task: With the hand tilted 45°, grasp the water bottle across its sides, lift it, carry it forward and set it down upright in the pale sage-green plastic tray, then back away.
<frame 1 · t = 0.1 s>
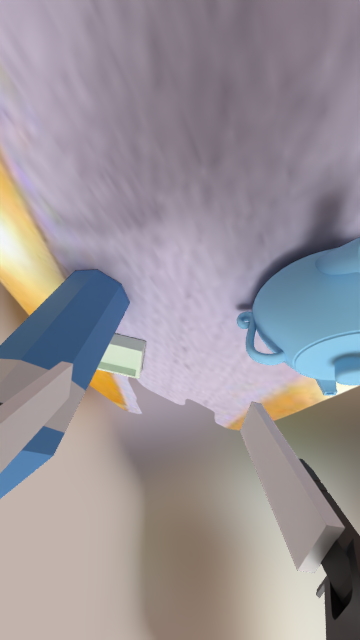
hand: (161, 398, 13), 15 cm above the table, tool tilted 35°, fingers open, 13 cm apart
tray: (113, 350, 40), on the table
teapot: (312, 292, 22), on the table
water bottle: (101, 293, 27), on the table
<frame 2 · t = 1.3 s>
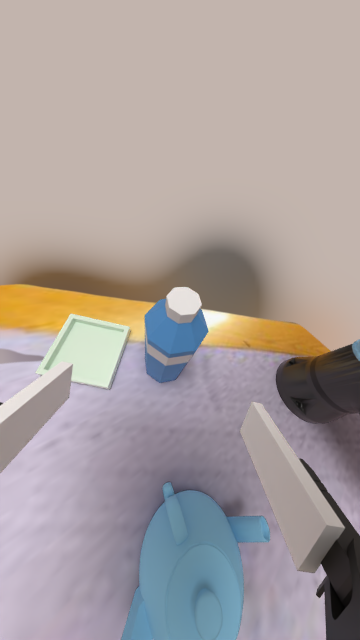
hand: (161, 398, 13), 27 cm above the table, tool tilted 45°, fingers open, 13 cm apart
tray: (90, 351, 40), on the table
teapot: (189, 547, 27), on the table
water bottle: (164, 363, 41), on the table
when the fingers open (13 cm above the table, at t = 10.3 s): water bottle drops 1 cm, resting on tray.
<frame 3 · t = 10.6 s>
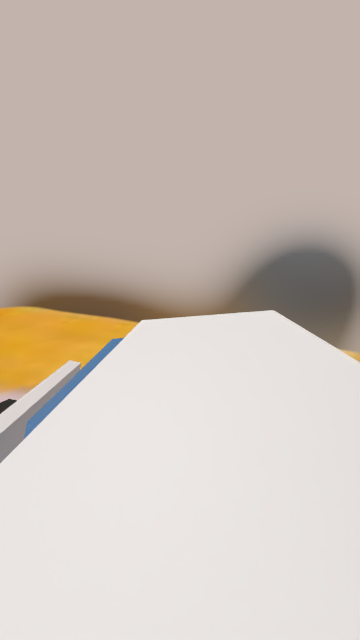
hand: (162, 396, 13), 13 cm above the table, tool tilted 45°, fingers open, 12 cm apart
water bottle: (149, 430, 22), point 1 cm above the table, touching tray
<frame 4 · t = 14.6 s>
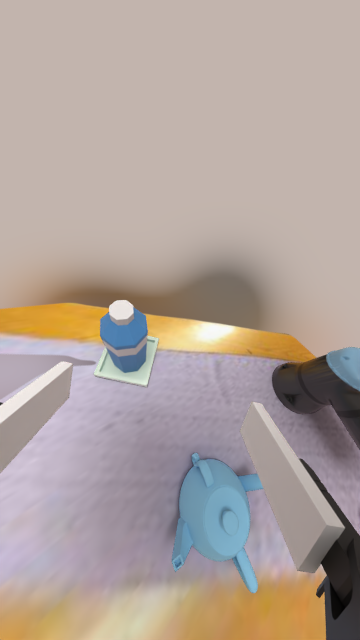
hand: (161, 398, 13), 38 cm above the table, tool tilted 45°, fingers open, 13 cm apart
tray: (129, 357, 51), on the table
teapot: (210, 498, 39), on the table
water bottle: (130, 357, 50), point 1 cm above the table, touching tray
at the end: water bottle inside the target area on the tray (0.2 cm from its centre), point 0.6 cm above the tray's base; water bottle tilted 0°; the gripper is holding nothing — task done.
